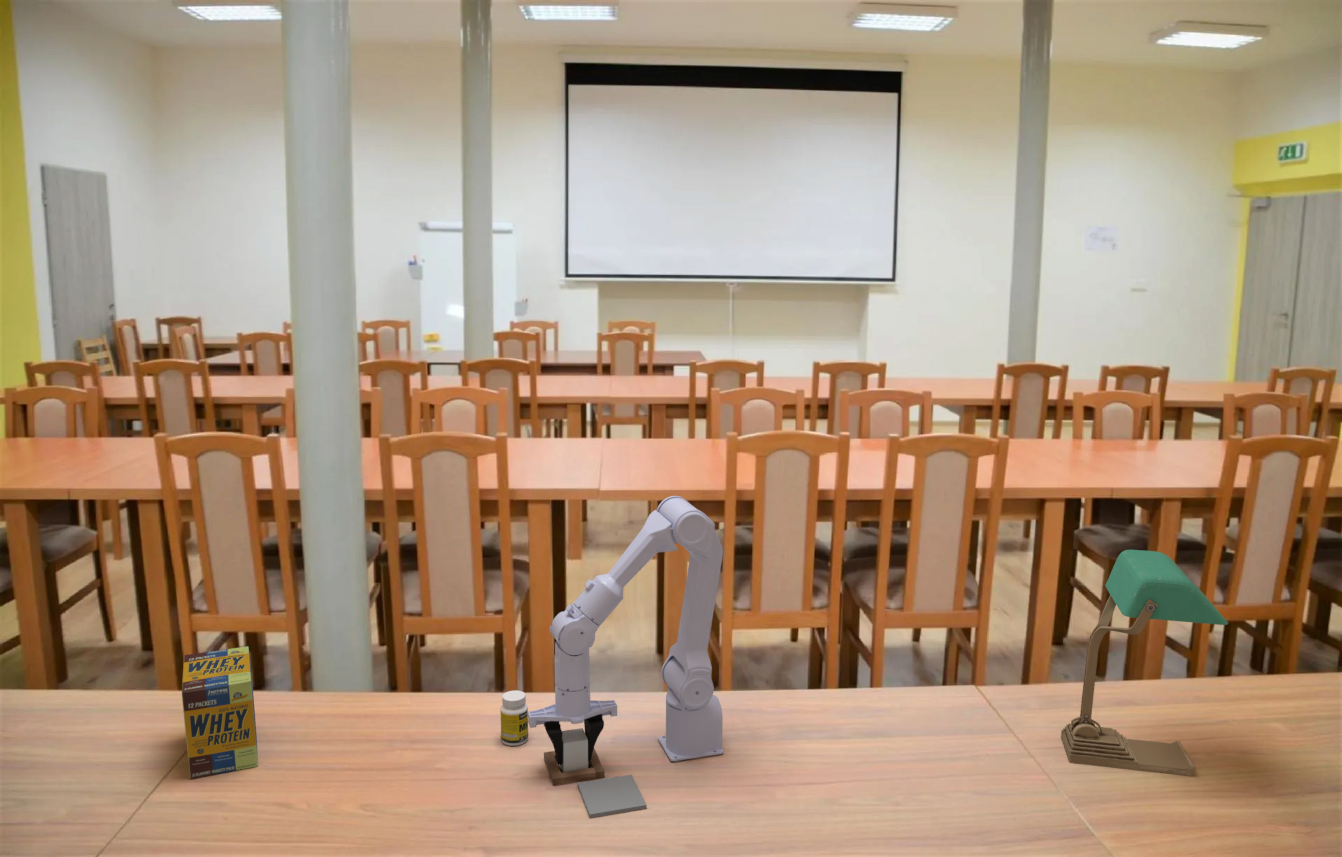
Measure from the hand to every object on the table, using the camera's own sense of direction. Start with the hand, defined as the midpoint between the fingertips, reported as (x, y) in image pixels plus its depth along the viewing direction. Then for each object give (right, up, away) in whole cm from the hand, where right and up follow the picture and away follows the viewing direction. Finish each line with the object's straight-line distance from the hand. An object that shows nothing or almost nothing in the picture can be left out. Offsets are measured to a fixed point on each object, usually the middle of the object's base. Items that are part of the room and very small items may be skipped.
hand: (573, 759), depth 166 cm
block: (0, -2, 0) cm, 2 cm away
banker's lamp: (+95, -2, +5) cm, 95 cm away
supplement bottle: (-11, 0, +9) cm, 15 cm away
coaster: (+7, -3, -8) cm, 11 cm away
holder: (0, -2, 0) cm, 2 cm away
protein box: (-60, 0, +5) cm, 60 cm away
